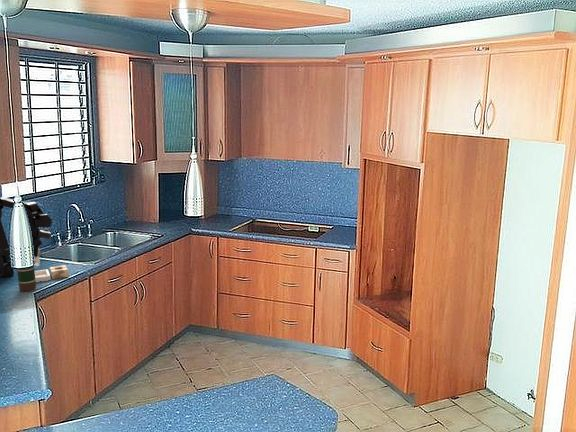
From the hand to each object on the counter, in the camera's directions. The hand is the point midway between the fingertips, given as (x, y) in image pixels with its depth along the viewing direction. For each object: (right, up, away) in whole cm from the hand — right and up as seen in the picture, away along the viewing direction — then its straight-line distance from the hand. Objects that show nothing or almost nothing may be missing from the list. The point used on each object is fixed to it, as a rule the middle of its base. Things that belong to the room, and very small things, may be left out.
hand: (35, 255), depth 303 cm
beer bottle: (+3, -16, -16) cm, 23 cm away
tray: (0, -12, +2) cm, 13 cm away
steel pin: (0, -5, +1) cm, 6 cm away
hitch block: (+10, -11, +7) cm, 16 cm away
